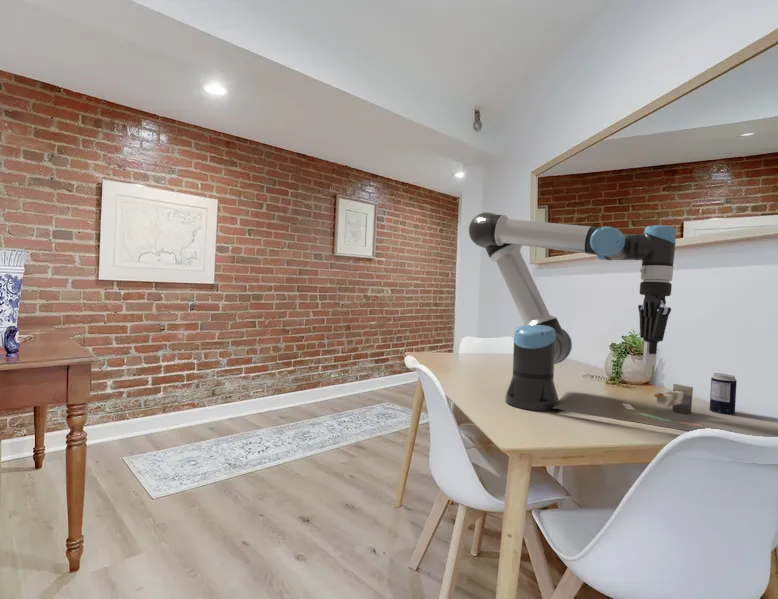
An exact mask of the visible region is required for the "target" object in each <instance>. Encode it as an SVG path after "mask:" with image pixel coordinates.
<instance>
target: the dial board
mask: <svg viewBox="0 0 778 599" xmlns="http://www.w3.org/2000/svg"><path fill="white" fill-rule="evenodd" d="M621 404H622V405H623V406H624V408H626V409H627V410H631V411H635V410H636V409H635V408H634V407H633V406H632V405H631V404H629V403H621ZM639 415H641V416H644V417H647V418H649V419H654V420H659V421H662V422H665V423H666V422H671V420H670V419H667V418H664V417H660V416H656V415H652V414H650V413H646V412H644V413H643V412H642V413H639ZM613 419H614V420H616V418H614V417H613ZM618 420H620V421H622V419H619V418H618ZM625 421H626V422H628V420H627V419H624V422H625ZM630 422H633V423H634V421H632V420H630ZM636 423H637V424H640V422H637V421H636ZM642 424H643V425H646V423H645V422H643V423H642ZM679 424H680V425H686V426H687V425H688V426H694V427H700V428H703V425H702V424H699V423H693V422H685V421H679ZM647 425H650V426H652V424H650V423H647ZM653 426H655V427H658V425H655V424H653ZM659 427H660V428H661V427H663V428H664V425H663V426H662V425H659ZM665 428H666V429H670V427H668V426H665ZM671 429H675V430H676V428H674V427H671ZM677 430H679V431H682V429H680V428H677ZM683 431H686V432H688V430H684V429H683Z"/></svg>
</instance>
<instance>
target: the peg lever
mask: <svg viewBox="0 0 778 599" xmlns="http://www.w3.org/2000/svg"><path fill="white" fill-rule="evenodd" d="M693 391H694V387H693V386H689V385H683V384H677V383H673V386H672V391H669V392H666V393H665V392H664V393H661V392H659V393H655V394H654V397H655V398H656V407H657V408H663V409H667V408H668V407H672V409H671V410H672V412H675V413H677V414H682V415H683V414H684V415H691V414H692V408H693V406H692V405H693V403H692V402H693V394H694V393H693Z"/></svg>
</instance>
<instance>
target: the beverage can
mask: <svg viewBox="0 0 778 599" xmlns="http://www.w3.org/2000/svg"><path fill="white" fill-rule="evenodd" d="M737 382H738V381H737V379H736V375H732V374H728V373H713V375H712V376H711V379H710V395H709V396H710V397H709V411H710V412H712V413H716V414H719V415H726V416H727V415H728V416H730V415H731V416H734V415H735V414H736V403H737V402H736V400H737V399H736V398H737Z"/></svg>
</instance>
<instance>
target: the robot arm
mask: <svg viewBox="0 0 778 599" xmlns="http://www.w3.org/2000/svg"><path fill="white" fill-rule="evenodd" d="M644 228H645V229H644V231H643V233H634V234H633V233H628V234H627V233H623V232H622V231H621V229H620V230H619V229H618V228H616V227H612V226H601V227H600V226H599V227H598V226H590V225H589V226H588V225H577V224H566V223H556V222H544V221H534V220H523V219H512V218H509V217H508V216H507V215H503V214H496V213H492V212H482V213H479V214H477V215H475V216H474V217H473V218H472V220H471V221H470V223H469V225H468V234H469V238H470V239H471V241H472V242H473V243H474V244H475V245H476V246H479V247H481V248H484V249H485V250H486V253H487V255H488V257H489V260H491V261H492V262H495V263H496V264H497V266H498V269H499V270H500V273H501V275H502V277H503V279H504V282H505V284H506V287H507V288H508V291H509V293H510V295H511V298H512V300H513V302H514V304H515V306H516V309H517V310H518V313H519V315H520V317H521V320H522V322H523V323H524V324H523V325H520V326H519V327H517V328H516V329H515V330H514V335H513V355H512V357H513V360H512V376H511V379H510V382H509V385H508V387H507V389H506V394H505V403H507V404H508V403H509V404H508V405H510V406H512V405H513V406H512V407H515V406H516V407H515V408H519V409H523V410H531V411H541V412H542V411H543V412H546V411H555V410H556V408H555V406H558V405H559V403H560V399H559V396H558V392H557V389H556V386H555V382H554V373H555V365H557V364H559V363H562V362H563V361H564V360H566V359H567V358H568V357H569V355H570V354H571V351H572V349H573V342H572V338H571V336H570V334H569V332H567V331H566V330H565V329H564V328H562V327H561V325H560V322H559V320H558V318H557V317H556V316H553V315H551V314H550V313H549V310H548V309H547V306H546V304H545V302H544V300H543V298H542V296H541V294H540V291H539V289H538V287H537V285H536V283H535V280H534V279H533V278H534V277H533V276H532V274H531V272H530V270H529V268H528V266H527V264H526V261H525V259H524V257H523V255H522V253H521V250H522V247H532V248H533V247H534V248H540V249H549V250H555V251H556V250H557V251H564V252H565V251H566V252H572V253H581V254H588V255H594V256H595V255H596V257H597V259H598V260H604V261H641V269H640V270H639V271H640V280H641V281H640V284H639V295H641V296H644V297H643V303H642V304H638V306H637V308H638V314H639V336H640V339H641V338H642V339H643V341H644V345H643V357H642V365H644V366H656V363H657V352H658V350H657V349H658V343H660V342H663V341H664V338H665V332H666V327H667V324H668V320H669V315H670V313H671V312H672V308H671V307H667V306H666V304H667V303H666V301H667V300H666V297H670V296H671V295H672V287H673V286H672V283H671V281H672V280H673V276H674V275H673V274H674V263H675V262H674V261H675V252H676V237H677V236H676V233H677V232H676V231H677V230H676V229H675V227H674V226H671V225H664V224H663V225H659V224H657V225H648V226H646V227H644Z"/></svg>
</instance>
